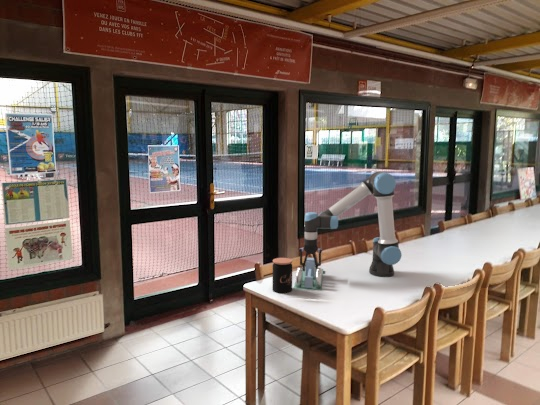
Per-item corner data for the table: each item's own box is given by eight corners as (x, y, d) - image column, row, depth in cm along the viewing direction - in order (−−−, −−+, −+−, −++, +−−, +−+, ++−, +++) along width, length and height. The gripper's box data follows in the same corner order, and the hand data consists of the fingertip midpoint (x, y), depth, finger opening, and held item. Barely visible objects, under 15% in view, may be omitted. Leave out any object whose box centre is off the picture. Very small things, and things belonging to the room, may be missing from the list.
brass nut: (313, 284, 238) (313, 279, 237) (313, 286, 233) (313, 281, 233) (304, 283, 238) (304, 278, 238) (304, 286, 234) (304, 281, 234)
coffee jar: (280, 297, 220) (280, 264, 218) (268, 291, 229) (268, 259, 226) (295, 293, 227) (296, 260, 224) (283, 287, 235) (284, 256, 233)
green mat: (323, 270, 267) (323, 268, 267) (321, 292, 228) (321, 290, 227) (299, 269, 269) (299, 267, 269) (293, 290, 230) (293, 288, 230)
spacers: (321, 281, 242) (321, 268, 241) (321, 289, 229) (321, 275, 228) (297, 280, 244) (297, 267, 243) (295, 287, 231) (295, 273, 230)
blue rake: (314, 273, 255) (315, 257, 254) (313, 287, 229) (313, 270, 228) (306, 273, 256) (306, 257, 255) (304, 287, 230) (304, 270, 229)
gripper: (326, 237, 248) (325, 275, 251) (296, 236, 251) (295, 274, 254) (326, 240, 241) (325, 279, 244) (295, 239, 243) (294, 277, 246)
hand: (310, 276), depth 249 cm, fingers closed on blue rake, 5 cm apart
